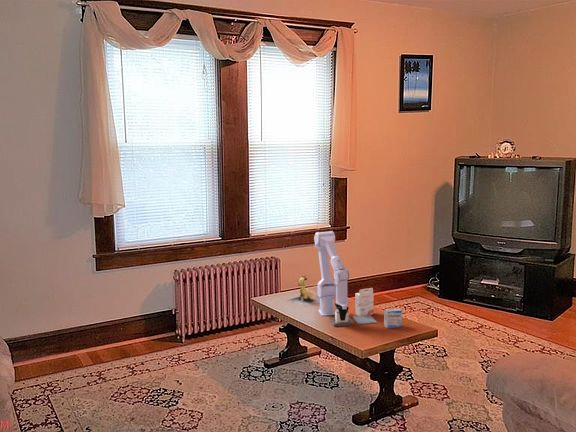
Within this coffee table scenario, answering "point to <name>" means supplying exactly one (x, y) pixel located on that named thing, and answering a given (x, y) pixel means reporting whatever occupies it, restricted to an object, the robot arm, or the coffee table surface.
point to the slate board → (364, 319)
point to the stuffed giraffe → (304, 293)
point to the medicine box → (393, 318)
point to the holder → (342, 322)
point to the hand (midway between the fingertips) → (341, 318)
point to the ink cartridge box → (364, 302)
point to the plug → (337, 317)
